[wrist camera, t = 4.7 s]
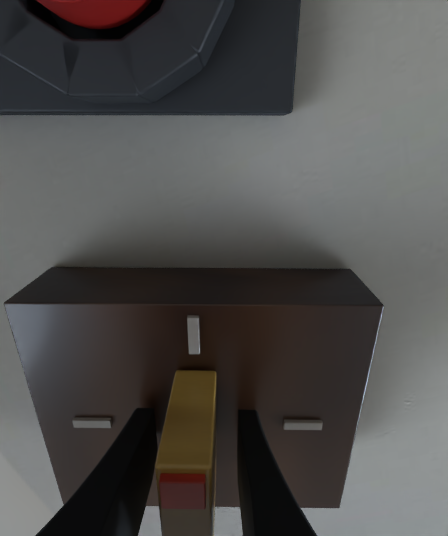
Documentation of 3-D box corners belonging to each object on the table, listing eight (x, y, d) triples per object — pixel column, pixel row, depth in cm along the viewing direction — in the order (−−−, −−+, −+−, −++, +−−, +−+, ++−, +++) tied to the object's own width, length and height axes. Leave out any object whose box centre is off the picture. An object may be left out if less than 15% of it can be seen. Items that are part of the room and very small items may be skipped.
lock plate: (90, 443, 17) (61, 509, 14) (51, 266, 13) (-1, 305, 10) (320, 446, 17) (341, 513, 14) (350, 268, 13) (387, 308, 10)
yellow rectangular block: (216, 469, 13) (212, 592, 9) (181, 468, 13) (164, 591, 9) (216, 369, 11) (211, 477, 7) (175, 368, 11) (151, 477, 7)
